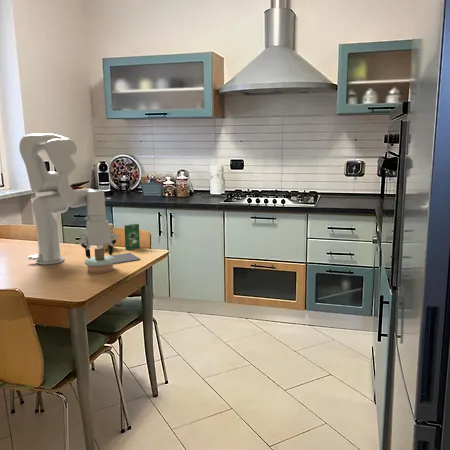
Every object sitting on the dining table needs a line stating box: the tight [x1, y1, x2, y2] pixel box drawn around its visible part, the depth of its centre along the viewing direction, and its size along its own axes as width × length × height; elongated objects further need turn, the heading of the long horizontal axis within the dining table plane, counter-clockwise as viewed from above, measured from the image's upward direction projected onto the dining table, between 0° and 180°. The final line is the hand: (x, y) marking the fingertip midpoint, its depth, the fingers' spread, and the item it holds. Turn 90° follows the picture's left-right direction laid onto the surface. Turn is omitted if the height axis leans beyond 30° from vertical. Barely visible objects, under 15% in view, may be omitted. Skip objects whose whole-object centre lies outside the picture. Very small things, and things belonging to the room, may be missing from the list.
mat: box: [111, 252, 141, 265], centre depth 229 cm, size 14×14×1 cm
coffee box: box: [124, 222, 141, 251], centre depth 248 cm, size 8×3×13 cm, turn 142°
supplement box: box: [96, 223, 115, 251], centre depth 249 cm, size 8×5×13 cm, turn 148°
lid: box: [84, 247, 115, 266], centre depth 210 cm, size 13×13×6 cm
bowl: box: [86, 263, 114, 275], centre depth 211 cm, size 11×11×4 cm
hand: (99, 256), depth 210 cm, fingers open, 9 cm apart
